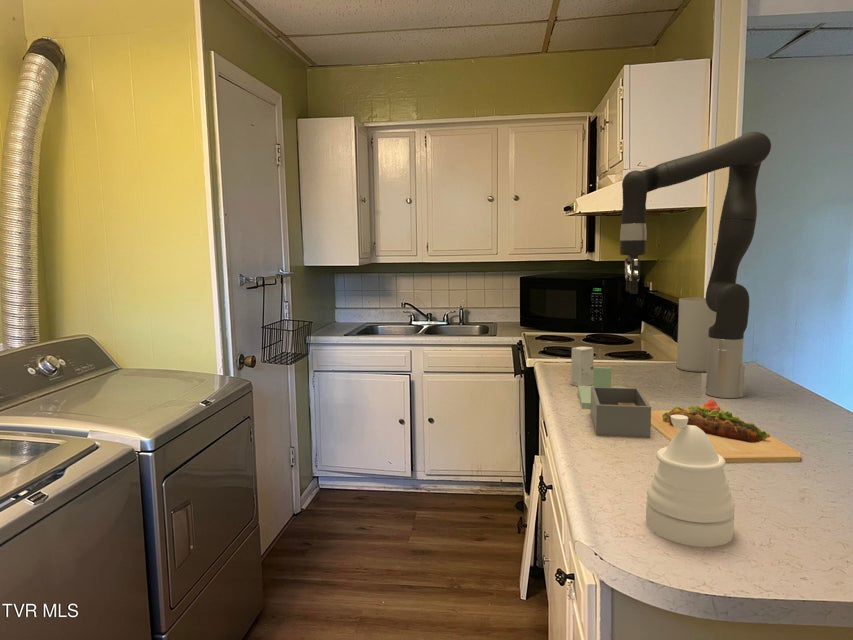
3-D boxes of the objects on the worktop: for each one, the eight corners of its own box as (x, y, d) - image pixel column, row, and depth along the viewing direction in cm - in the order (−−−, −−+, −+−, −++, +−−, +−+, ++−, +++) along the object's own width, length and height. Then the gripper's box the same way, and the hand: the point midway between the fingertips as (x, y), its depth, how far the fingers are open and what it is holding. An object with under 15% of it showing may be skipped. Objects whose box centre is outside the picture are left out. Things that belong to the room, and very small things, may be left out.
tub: (638, 418, 152) (639, 388, 151) (650, 441, 135) (651, 407, 134) (590, 416, 155) (590, 386, 154) (596, 438, 137) (596, 405, 136)
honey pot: (645, 539, 91) (648, 426, 88) (646, 504, 103) (649, 404, 100) (738, 553, 86) (745, 434, 84) (728, 515, 98) (733, 410, 96)
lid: (625, 394, 176) (625, 367, 175) (635, 413, 157) (635, 382, 156) (577, 393, 179) (578, 366, 178) (581, 411, 160) (582, 381, 159)
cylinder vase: (673, 370, 208) (675, 300, 205) (680, 364, 219) (683, 297, 215) (711, 374, 201) (715, 301, 198) (717, 367, 211) (721, 298, 208)
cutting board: (634, 417, 156) (635, 389, 155) (723, 415, 156) (724, 388, 155) (693, 466, 121) (694, 430, 120) (807, 464, 121) (809, 429, 120)
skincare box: (580, 387, 186) (581, 349, 185) (570, 384, 190) (570, 347, 188) (594, 384, 190) (594, 347, 188) (583, 382, 193) (583, 345, 192)
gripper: (650, 238, 170) (648, 294, 172) (642, 239, 184) (641, 290, 186) (623, 239, 171) (621, 294, 173) (617, 239, 185) (616, 290, 187)
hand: (631, 292), depth 179 cm, fingers open, 8 cm apart
